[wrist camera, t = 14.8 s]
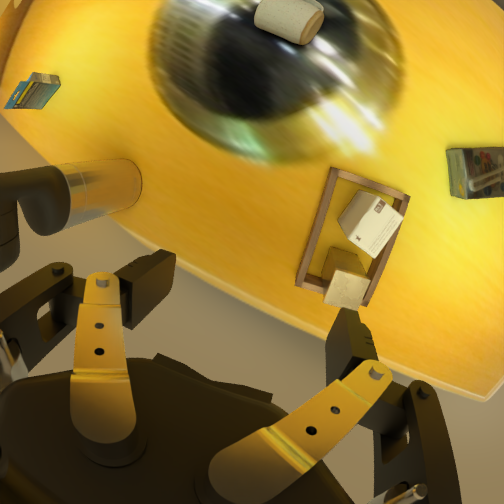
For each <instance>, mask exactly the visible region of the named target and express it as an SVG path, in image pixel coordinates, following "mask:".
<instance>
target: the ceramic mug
mask: <svg viewBox="0 0 504 504" xmlns="http://www.w3.org/2000/svg"><path fill="white" fill-rule="evenodd" d="M323 20H324V14H323V7H322V5H321V4H320V3H318V2H317V1H315V0H262V1H261V2H260V4H259V6H258V7H257V10H256V13H255V16H254V22H255V25H256V26H257V27H258V28H260V29H263V30H266V31H268V32H270V33H273V34H275V35H278V36H280V37H282V38H284V39H287V40H289V41H291V42H293V43H296V44H299V45H305V44H307V43H309V42H310V41H311V40H312V39H313V37H314V36H315V35H316V33H317V32H318V30H319V29H320V27H321V25H322V23H323Z"/></svg>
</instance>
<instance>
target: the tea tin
mask: <svg viewBox="0 0 504 504" xmlns="http://www.w3.org/2000/svg"><path fill="white" fill-rule="evenodd" d="M370 281H371V280H370V278H369V277H368V276H367V274H366V272H365V270H364V268H363V266H362V264H361V262H360V260H359V257H358V255H357V254H354V253H350V252H347V251H344V250H341V249H338V248H335V247H332V246H331V247H330V250H329V253H328V255H327V258H326V261H325V264H324V267H323V269H322V283H323V295H324V298H323V303H326V304H329V305H333V306H336V307H340V308H342V307H345V308H348V309H352V310H355V311H357V310H358V308H359V306H360V303H361V301H362V299H363V297H364V295H365V292H366V290H367V288H368V285H369V283H370Z"/></svg>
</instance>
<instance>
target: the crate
mask: <svg viewBox="0 0 504 504" xmlns="http://www.w3.org/2000/svg"><path fill="white" fill-rule="evenodd" d="M337 177H341V178H344V179H347V180H350V181H353V182H356V183H358V184H361V185H364V186H367V187H369V188H372V189H375V190H377V191H380V192H383V193H385V194H388V195H390V196H393V197H395V200H394V203H393V206H392V208H394V209H395V210H396V211H397V212H398V213H400V214H401V215H402V216H403V217H404V215H405V212H406V209H407V206H408V203H409V200H410V196H409V195H406V194H404V193H402V192H399V191H397V190H394V189H392V188H389V187H387V186H384V185H382V184H379V183H376V182H374V181H371V180H368V179H366V178H363V177H360V176H357V175H355V174H352V173H349V172H346V171H343V170H340V169H337V168H334V167H330V170H329V174H328V177H327V181H326V184H325V187H324V191H323V194H322V197H321V201H320V204H319V207H318V211H317V214H316V217H315V220H314V223H313V226H312V230H311V233H310V236H309V239H308V242H307V245H306V248H305V251H304V254H303V257H302V260H301V263H300V266H299V269H298V272H297V275H296V280H295V286H298V287H301V288H305V289H308V290H311V291H314V292H318V293H321V294H323V283H322V278H319V277H316V276H313V275H310V274H306V272H307V270H308V267H309V264H310V261H311V258H312V255H313V252H314V249H315V247H316V244H317V241H318V238H319V235H320V232H321V228H322V225H323V222H324V219H325V216H326V213H327V210H328V207H329V203H330V200H331V197H332V194H333V190H334V187H335V183H336V180H337ZM402 221H403V220H402ZM401 224H402V222H401V223H400V225H399V226H398V227H397V229H396V230H395V232H394V233H393V235H392V236H391V237H390V239H389V240H388V242H387V243H386V244H385V246H384V247H383V248H382V250H381V251H380V253H379V254H378V255H377V257H376V258H375V259H373V261H372V264H371V266H370V268H369V271H368V273H367V276H368V277H369V278H370V280H371V281H370V283H369V285H368V288H367V290H366V292H365V295H364V297H363V299H362V301H361V303H360V305H362V306H365V307H367V305H368V303H369V301H370V299H371V297H372V295H373V293H374V290H375V288H376V286H377V284H378V282H379V279H380V277H381V275H382V272H383V270H384V268H385V265H386V263H387V260H388V258H389V255H390V253H391V250H392V248H393V245H394V243H395V240H396V237H397V235H398V232H399V229H400V226H401Z"/></svg>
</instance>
